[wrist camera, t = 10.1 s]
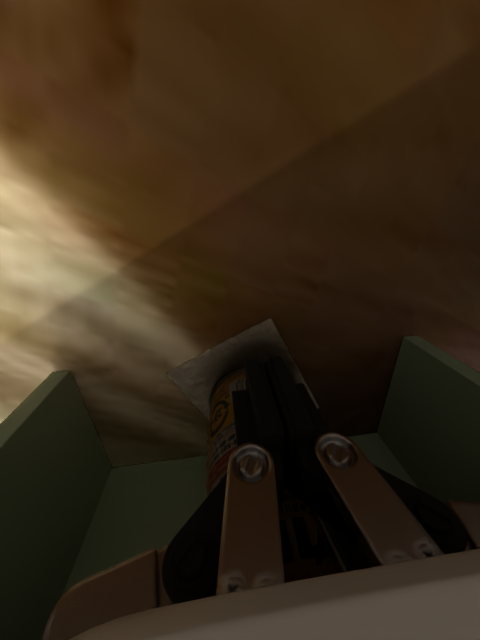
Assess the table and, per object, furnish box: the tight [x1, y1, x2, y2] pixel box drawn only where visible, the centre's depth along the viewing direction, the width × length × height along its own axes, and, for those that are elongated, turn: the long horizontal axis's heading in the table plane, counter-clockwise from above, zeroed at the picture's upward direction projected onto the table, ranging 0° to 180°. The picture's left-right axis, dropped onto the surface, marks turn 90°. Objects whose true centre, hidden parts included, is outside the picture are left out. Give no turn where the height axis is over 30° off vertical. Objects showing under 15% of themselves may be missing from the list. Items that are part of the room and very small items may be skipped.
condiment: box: [166, 318, 338, 583], centre depth 11 cm, size 7×8×12 cm
